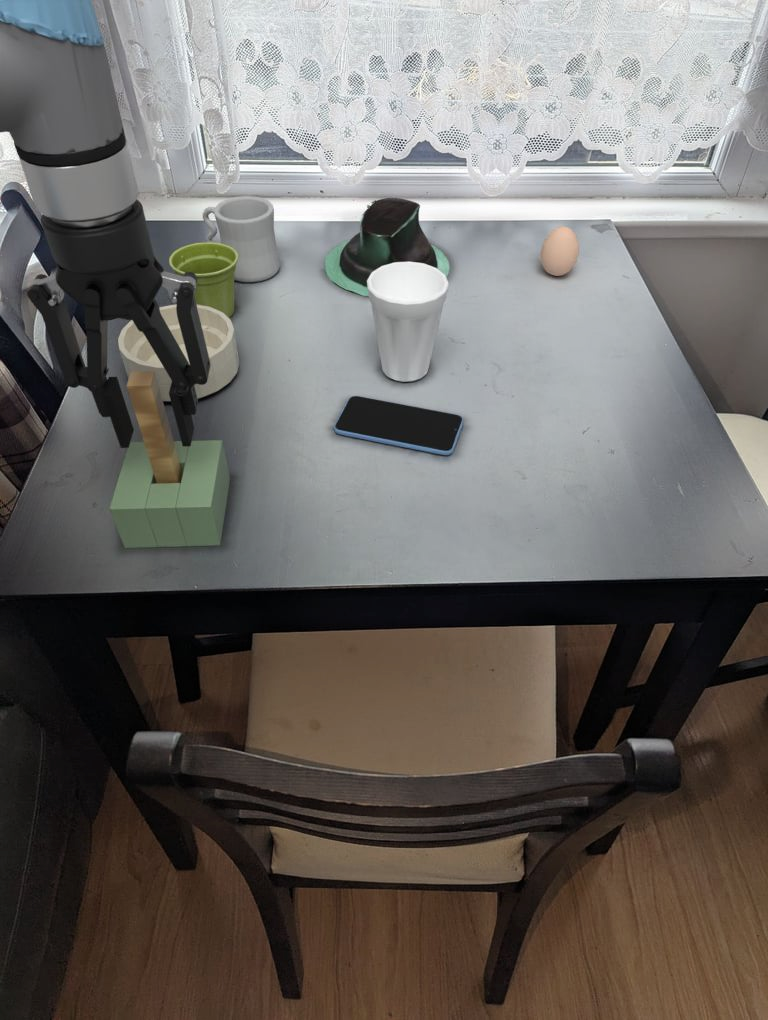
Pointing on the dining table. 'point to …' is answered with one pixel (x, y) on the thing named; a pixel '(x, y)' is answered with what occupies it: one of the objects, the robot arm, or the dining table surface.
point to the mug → (247, 235)
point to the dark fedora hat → (382, 245)
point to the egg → (560, 251)
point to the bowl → (184, 350)
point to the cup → (406, 316)
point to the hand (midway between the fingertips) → (158, 437)
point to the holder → (172, 498)
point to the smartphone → (399, 425)
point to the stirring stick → (154, 426)
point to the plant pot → (209, 273)
